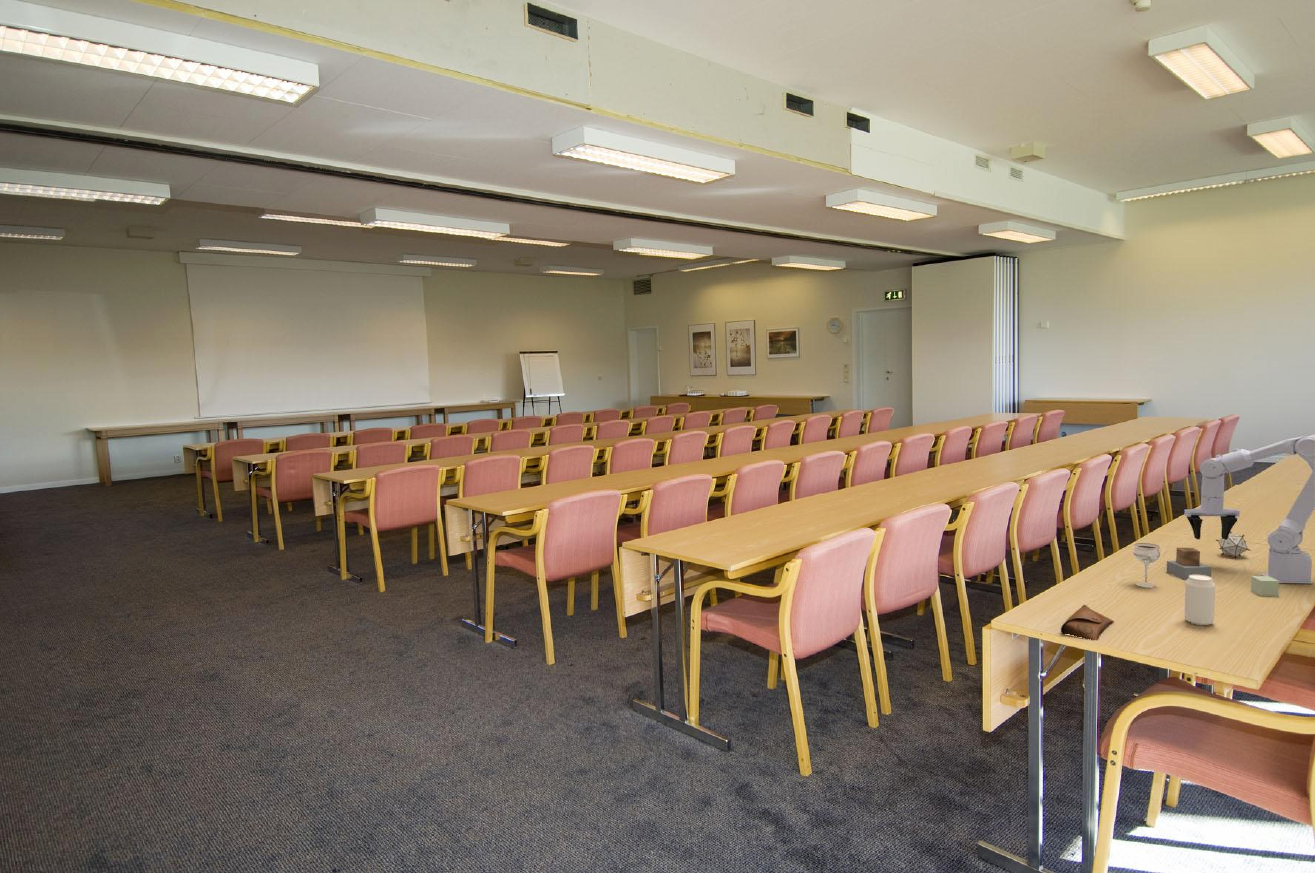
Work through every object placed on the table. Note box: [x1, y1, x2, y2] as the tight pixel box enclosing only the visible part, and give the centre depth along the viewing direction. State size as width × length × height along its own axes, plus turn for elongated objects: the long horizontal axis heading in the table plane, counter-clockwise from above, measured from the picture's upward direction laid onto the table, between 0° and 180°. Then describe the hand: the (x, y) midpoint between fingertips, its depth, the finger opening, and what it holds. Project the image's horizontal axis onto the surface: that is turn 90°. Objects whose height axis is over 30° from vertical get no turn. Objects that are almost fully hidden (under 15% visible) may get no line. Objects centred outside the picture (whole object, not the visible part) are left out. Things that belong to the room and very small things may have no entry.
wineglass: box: [1132, 542, 1161, 589], centre depth 225 cm, size 7×7×12 cm
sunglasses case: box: [1060, 604, 1115, 641], centre depth 194 cm, size 18×7×7 cm, turn 138°
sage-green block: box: [1250, 575, 1280, 597], centre depth 214 cm, size 4×4×4 cm
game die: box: [1215, 530, 1252, 560], centre depth 250 cm, size 9×8×10 cm
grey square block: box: [1166, 560, 1212, 581], centre depth 233 cm, size 8×8×4 cm
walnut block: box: [1175, 547, 1201, 566], centre depth 233 cm, size 4×4×4 cm
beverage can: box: [1184, 575, 1216, 626], centre depth 194 cm, size 6×6×12 cm
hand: (1210, 538), depth 239 cm, fingers open, 7 cm apart
